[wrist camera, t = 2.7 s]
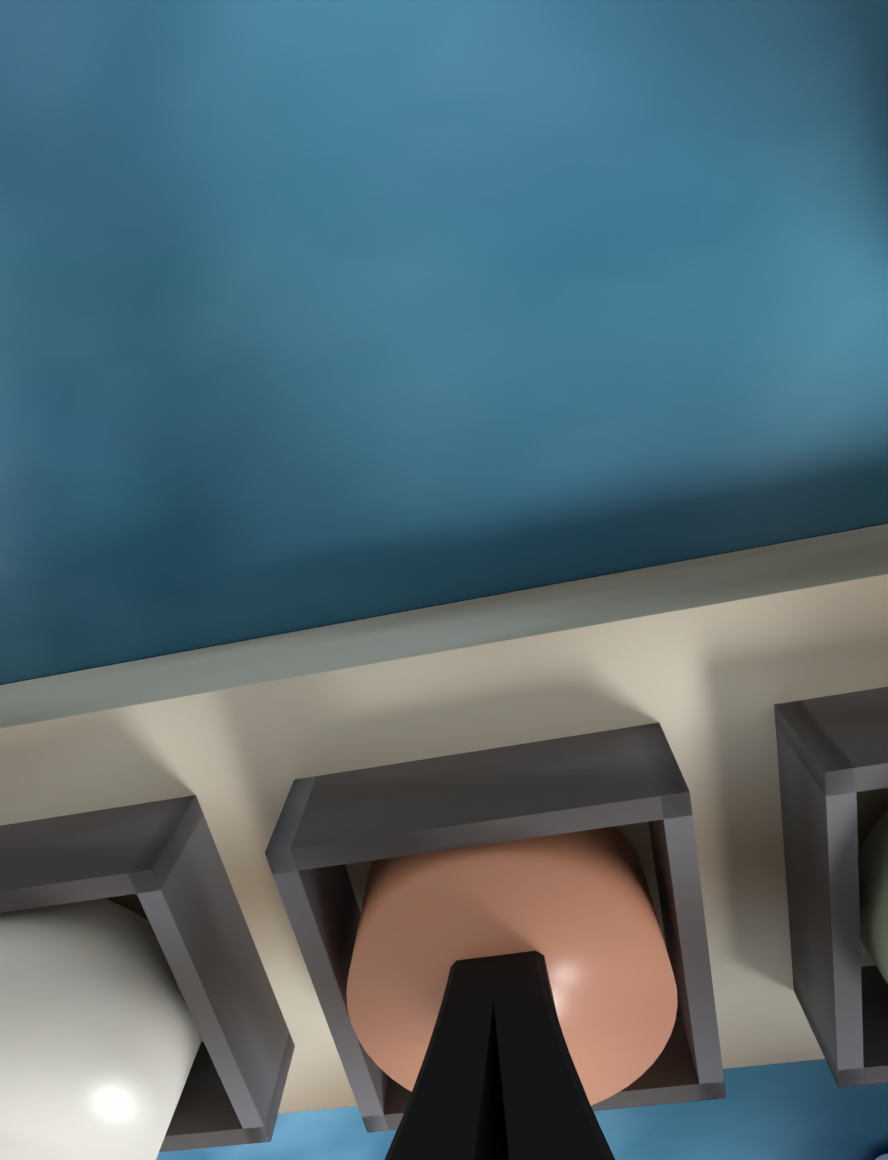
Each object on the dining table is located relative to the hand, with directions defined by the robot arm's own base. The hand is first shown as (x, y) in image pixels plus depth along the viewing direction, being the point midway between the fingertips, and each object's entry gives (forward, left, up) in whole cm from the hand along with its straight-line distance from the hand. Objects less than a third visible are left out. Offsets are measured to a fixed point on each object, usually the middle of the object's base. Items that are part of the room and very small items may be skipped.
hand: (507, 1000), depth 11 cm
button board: (0, 0, -4) cm, 4 cm away
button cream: (0, +8, -1) cm, 8 cm away
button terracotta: (0, 0, -2) cm, 2 cm away
